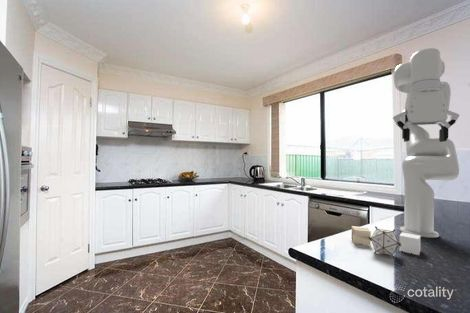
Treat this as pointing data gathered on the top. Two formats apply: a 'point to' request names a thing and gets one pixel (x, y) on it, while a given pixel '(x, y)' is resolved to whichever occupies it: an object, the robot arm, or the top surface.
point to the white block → (410, 243)
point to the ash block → (361, 235)
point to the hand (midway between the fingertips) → (424, 141)
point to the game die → (384, 241)
